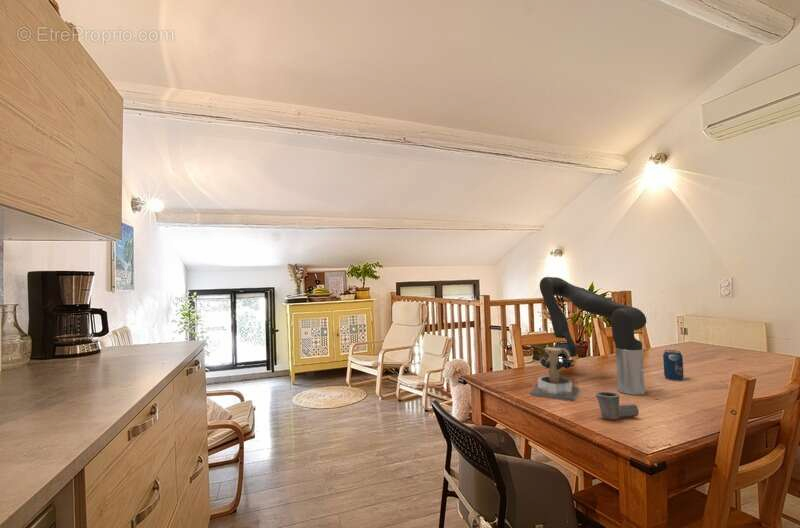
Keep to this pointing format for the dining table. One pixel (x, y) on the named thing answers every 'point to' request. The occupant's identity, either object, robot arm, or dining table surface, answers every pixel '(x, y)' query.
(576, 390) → the duct collar
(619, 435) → the dining table surface
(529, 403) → the dining table surface
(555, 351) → the grey upright column
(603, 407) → the pipe
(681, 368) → the soda can
